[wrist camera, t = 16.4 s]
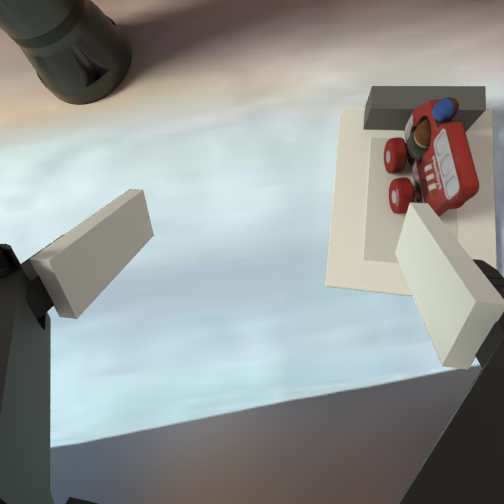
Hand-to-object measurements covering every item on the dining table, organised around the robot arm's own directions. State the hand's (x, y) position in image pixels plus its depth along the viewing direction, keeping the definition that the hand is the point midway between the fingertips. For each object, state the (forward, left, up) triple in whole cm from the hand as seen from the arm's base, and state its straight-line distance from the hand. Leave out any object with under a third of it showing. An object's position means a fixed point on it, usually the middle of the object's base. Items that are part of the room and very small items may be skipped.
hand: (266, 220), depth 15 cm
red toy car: (-13, +14, -22) cm, 29 cm away
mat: (-11, +14, -22) cm, 29 cm away
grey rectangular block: (-22, +14, -21) cm, 33 cm away
